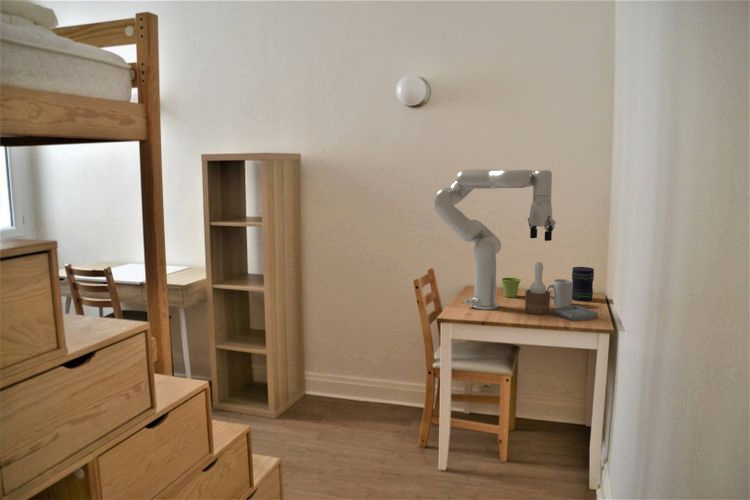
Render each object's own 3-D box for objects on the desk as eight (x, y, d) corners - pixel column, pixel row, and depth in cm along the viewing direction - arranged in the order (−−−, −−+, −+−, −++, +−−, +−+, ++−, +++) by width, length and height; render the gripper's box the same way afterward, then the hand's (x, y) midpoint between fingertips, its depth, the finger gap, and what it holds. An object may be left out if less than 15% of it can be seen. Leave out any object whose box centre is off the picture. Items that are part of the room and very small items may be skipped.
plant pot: (496, 295, 290) (497, 278, 289) (512, 293, 294) (512, 276, 293) (508, 299, 282) (509, 281, 281) (524, 297, 286) (524, 280, 285)
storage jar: (594, 302, 276) (596, 270, 274) (572, 301, 278) (574, 270, 276) (590, 297, 286) (592, 267, 284) (569, 296, 288) (570, 266, 286)
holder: (534, 315, 252) (535, 295, 250) (520, 310, 261) (521, 290, 259) (553, 313, 255) (554, 293, 254) (539, 308, 264) (540, 288, 263)
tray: (572, 321, 243) (572, 315, 243) (551, 313, 255) (552, 308, 255) (597, 318, 248) (597, 312, 247) (576, 310, 260) (576, 305, 259)
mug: (567, 302, 276) (569, 279, 275) (574, 306, 268) (575, 282, 266) (542, 302, 276) (543, 279, 274) (548, 306, 268) (549, 282, 266)
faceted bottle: (526, 311, 260) (528, 261, 257) (538, 309, 262) (540, 260, 259) (535, 314, 254) (537, 264, 251) (547, 313, 256) (549, 263, 253)
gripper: (522, 198, 257) (521, 237, 260) (547, 200, 241) (546, 242, 244) (536, 198, 260) (535, 236, 263) (562, 200, 244) (561, 241, 247)
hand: (540, 239), depth 253 cm, fingers open, 9 cm apart
